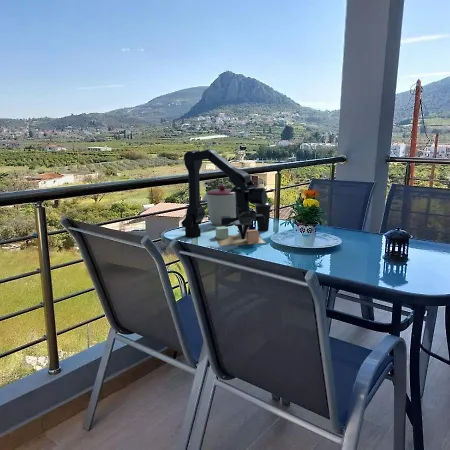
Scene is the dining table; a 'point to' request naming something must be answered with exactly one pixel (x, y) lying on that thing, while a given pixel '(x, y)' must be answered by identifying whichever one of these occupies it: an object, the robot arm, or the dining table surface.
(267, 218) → the drinking cup
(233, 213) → the canister
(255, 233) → the terracotta block
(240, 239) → the board
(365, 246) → the dining table surface
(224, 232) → the sage block
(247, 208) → the robot arm
